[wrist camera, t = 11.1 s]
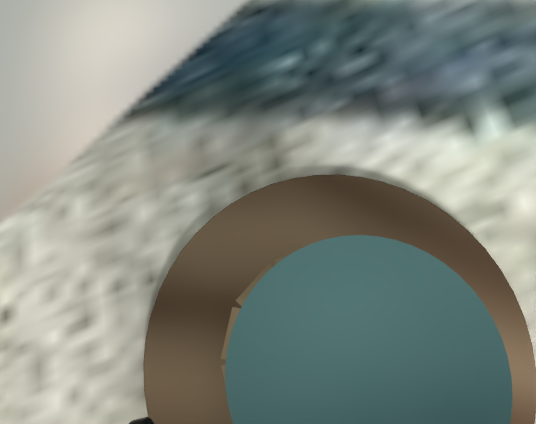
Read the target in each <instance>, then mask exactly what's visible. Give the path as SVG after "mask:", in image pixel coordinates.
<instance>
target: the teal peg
mask: <svg viewBox="0 0 536 424" xmlns="http://www.w3.org/2000/svg"><path fill="white" fill-rule="evenodd" d="M225 385H226V393H227V401H228V407H229V411H230V415H231V419H232V423H233V424H510V421H511V414H512V401H513V394H512V377H511V371H510V366H509V360H508V356H507V353H506V350H505V346H504V343H503V340H502V337H501V335H500V333H499V331H498V328H497V326H496V324H495V322H494V320H493V318H492V316H491V315H490V313H489V311H488V310H487V308H486V306H485V305H484V303H483V302H482V301H481V299H480V298H479V297H478V295H477V294H476V293H475V292H474V290H473V289H472V288H471V287H470V286H469V285H468V284H467V283H466V282H465V281H464V280H463V279H462V278H461V277H460V276H459V275H458V274H457V273H456V272H455V271H453V270H452V269H451V268H450V267H448V266H447V265H446V264H445V263H443V262H442V261H440V260H439V259H437V258H435V257H434V256H432V255H431V254H429V253H427V252H425V251H423V250H421V249H419V248H416V247H414V246H412V245H409V244H406V243H403V242H400V241H397V240H394V239H389V238H384V237H379V236H368V235H350V236H340V237H334V238H329V239H325V240H322V241H318V242H315V243H312V244H310V245H307V246H305V247H303V248H301V249H299V250H297V251H295V252H293V253H292V254H290V255H288V256H287V257H285V258H284V259H282V260H281V261H280V262H278V263H277V264H276V265H275V266H274V267H272V268H271V269H270V270H269V271H268V272H267V273H266V274H265V275H264V276H263V277H262V278H261V279H260V280H259V282H258V283H257V284H256V285H255V287H254V288H253V289H252V291H251V292H250V294H249V295H248V296H247V298H246V300H245V302H244V304H243V305H242V307H241V309H240V311H239V313H238V315H237V318H236V321H235V323H234V326H233V328H232V332H231V336H230V340H229V344H228V349H227V357H226V365H225Z"/></svg>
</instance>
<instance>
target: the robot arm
mask: <svg viewBox="0 0 536 424" xmlns="http://www.w3.org/2000/svg"><path fill="white" fill-rule="evenodd" d="M129 424H154V422H153V421H152V419H151V418H149V417H144V418H140V419H136V420H133V421H131V422H130V423H129Z"/></svg>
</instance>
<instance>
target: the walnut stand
mask: <svg viewBox="0 0 536 424" xmlns="http://www.w3.org/2000/svg"><path fill="white" fill-rule="evenodd" d="M350 235H368V236H379V237H384V238H389V239H394V240H397V241H400V242H403V243H406V244H409V245H412V246H414V247H416V248H419V249H421V250H423V251H425V252H427V253H429V254H431V255H432V256H434V257H435V258H437V259H439V260H440V261H442V262H443V263H445V264H446V265H447V266H448V267H450V268H451V269H452V270H453V271H455V272H456V273H457V274H458V275H459V276H460V277H461V278H462V279H463V280H464V281H465V282H466V283H467V284H468V285H469V286H470V287H471V288H472V289H473V290H474V292H475V293H476V294H477V295H478V297H479V298H480V299H481V301H482V302H483V303H484V305H485V306H486V308H487V310H488V311H489V313H490V315H491V316H492V318H493V320H494V322H495V324H496V326H497V328H498V331H499V333H500V335H501V337H502V340H503V343H504V346H505V350H506V353H507V356H508V360H509V366H510V371H511V377H512V394H513V401H512V414H511V421H510V424H534V422H535V413H536V367H535V360H534V354H533V347H532V342H531V339H530V335H529V332H528V328H527V325H526V321H525V318H524V315H523V313H522V311H521V308H520V306H519V304H518V301H517V299H516V296H515V294H514V292H513V290H512V288H511V287H510V285H509V283H508V282H507V280H506V278H505V276H504V275H503V273H502V271H501V269H500V268H499V267H498V265H497V264H496V263H495V261H494V260H493V259H492V257H491V256H490V255H489V253H488V252H487V251H486V249H485V248H484V247H483V246H482V245H481V244H480V243H479V242H478V241H477V240H476V239H475V238H474V236H473V235H472V234H471V233H470V232H469V231H468V230H467V229H466V228H464V227H463V226H462V225H461V224H460V223H458V222H457V221H456V220H455V219H454V218H452V217H451V216H450V215H449V214H447V213H446V212H444V211H443V210H441V209H440V208H438V207H437V206H435V205H433V204H432V203H430V202H429V201H427V200H425V199H423V198H421V197H419V196H417V195H415V194H413V193H411V192H409V191H407V190H405V189H402V188H399V187H396V186H393V185H390V184H388V183H385V182H381V181H377V180H372V179H368V178H363V177H356V176H346V175H314V176H307V177H300V178H293V179H289V180H286V181H282V182H278V183H275V184H271V185H269V186H266V187H264V188H261V189H259V190H257V191H254V192H252V193H250V194H248V195H246V196H244V197H243V198H241V199H239V200H237V201H235V202H234V203H232V204H230V205H229V206H228V207H226V208H225V209H224V210H222V211H221V212H219V213H218V214H217V215H215V216H214V217H213V218H212V219H211V220H210V221H209V222H208V223H206V224H205V225H204V226H203V227H202V228H201V229H200V230H199V231H198V232H197V233H196V234H195V235H194V237H193V238H192V239H191V240H190V241H189V243H188V244H187V245H186V246H185V247H184V249H183V250H182V251H181V253H180V254H179V256H178V257H177V259H176V261H175V262H174V264H173V265H172V267H171V268H170V270H169V272H168V274H167V276H166V278H165V280H164V282H163V284H162V286H161V288H160V291H159V293H158V296H157V299H156V302H155V305H154V308H153V310H152V313H151V317H150V322H149V327H148V331H147V336H146V343H145V354H144V392H145V398H146V405H147V411H148V417H149V418H151V419H152V421H153V422H154V424H233V423H232V419H231V415H230V411H229V407H228V401H227V393H226V385H225V365H226V357H227V349H228V344H229V340H230V336H231V332H232V328H233V326H234V323H235V321H236V318H237V315H238V313H239V311H240V309H241V307H242V305H243V304H244V302H245V300H246V298H247V296H248V295H249V294H250V292H251V291H252V289H253V288H254V287H255V285H256V284H257V283H258V282H259V280H260V279H261V278H262V277H263V276H264V275H265V274H266V273H267V272H268V271H269V270H270V269H271V268H272V267H274V266H275V265H276V264H277V263H278V262H280V261H281V260H282V259H284V258H285V257H287V256H288V255H290V254H292V253H293V252H295V251H297V250H299V249H301V248H303V247H305V246H307V245H310V244H312V243H315V242H318V241H322V240H325V239H329V238H334V237H340V236H350Z"/></svg>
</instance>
